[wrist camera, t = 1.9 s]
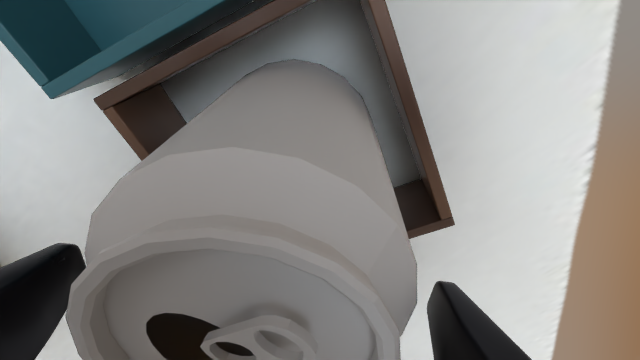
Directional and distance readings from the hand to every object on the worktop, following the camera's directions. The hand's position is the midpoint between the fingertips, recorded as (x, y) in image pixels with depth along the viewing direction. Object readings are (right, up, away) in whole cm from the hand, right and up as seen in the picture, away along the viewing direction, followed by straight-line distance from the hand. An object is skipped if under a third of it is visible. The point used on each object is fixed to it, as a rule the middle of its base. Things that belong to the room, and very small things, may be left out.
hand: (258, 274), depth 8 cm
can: (0, +5, +8) cm, 10 cm away
